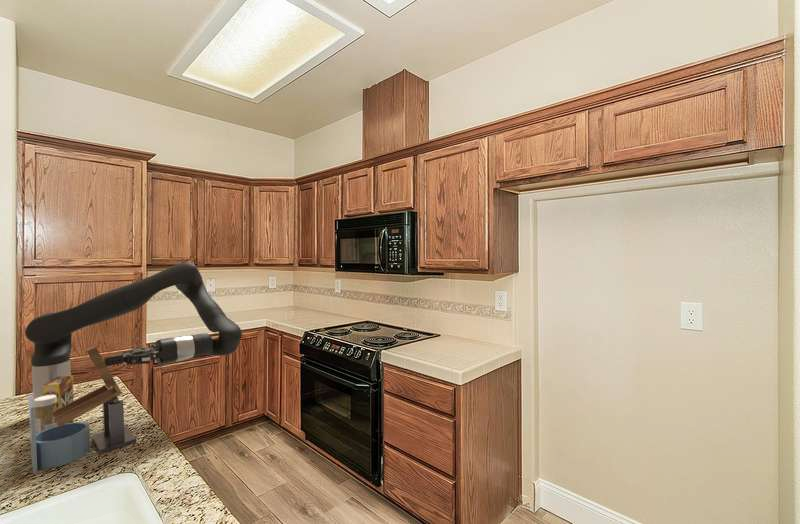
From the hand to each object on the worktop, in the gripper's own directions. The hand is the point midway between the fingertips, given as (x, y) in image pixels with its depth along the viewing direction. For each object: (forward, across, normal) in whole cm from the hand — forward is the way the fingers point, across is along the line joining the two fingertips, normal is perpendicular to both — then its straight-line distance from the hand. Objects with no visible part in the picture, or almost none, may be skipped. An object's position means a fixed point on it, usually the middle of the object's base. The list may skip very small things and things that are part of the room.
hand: (105, 361), depth 104 cm
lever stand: (-1, 0, +23) cm, 23 cm away
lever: (+3, 0, +13) cm, 13 cm away
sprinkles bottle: (+12, -11, +23) cm, 28 cm away
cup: (+10, 0, +23) cm, 25 cm away
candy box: (+8, -20, +23) cm, 32 cm away
